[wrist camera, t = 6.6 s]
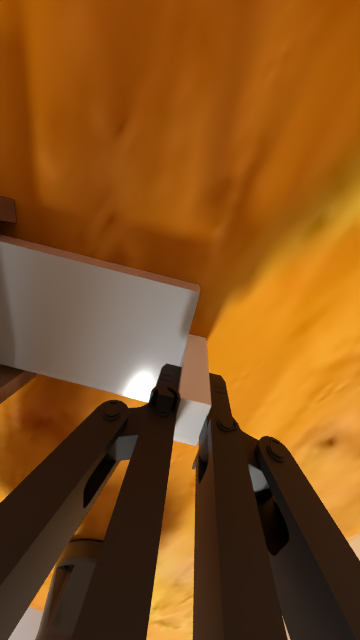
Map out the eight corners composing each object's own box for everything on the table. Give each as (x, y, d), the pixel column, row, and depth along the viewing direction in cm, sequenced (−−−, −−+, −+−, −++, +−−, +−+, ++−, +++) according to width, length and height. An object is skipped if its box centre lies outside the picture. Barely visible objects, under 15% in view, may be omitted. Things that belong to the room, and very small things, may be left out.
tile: (172, 382, 18) (168, 407, 15) (-3, 337, 18) (-40, 353, 15) (200, 284, 14) (200, 292, 11) (-22, 228, 14) (-75, 222, 12)
